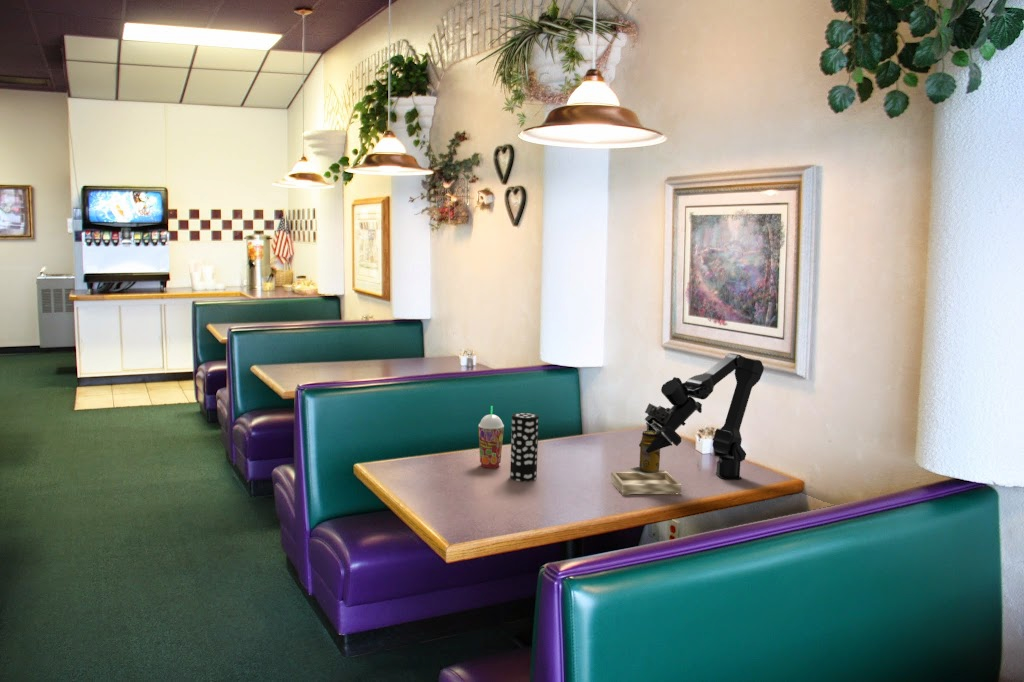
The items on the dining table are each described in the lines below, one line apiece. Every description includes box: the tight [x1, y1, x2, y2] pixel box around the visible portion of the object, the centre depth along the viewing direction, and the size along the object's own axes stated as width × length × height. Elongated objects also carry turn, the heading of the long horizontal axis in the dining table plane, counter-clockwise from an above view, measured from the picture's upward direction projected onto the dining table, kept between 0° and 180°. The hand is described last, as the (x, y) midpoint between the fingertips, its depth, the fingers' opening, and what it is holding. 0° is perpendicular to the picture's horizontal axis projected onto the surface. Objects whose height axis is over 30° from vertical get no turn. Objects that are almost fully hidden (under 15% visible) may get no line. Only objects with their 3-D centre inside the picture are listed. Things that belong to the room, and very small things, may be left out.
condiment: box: [628, 430, 665, 475], centre depth 264 cm, size 7×8×12 cm
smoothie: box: [477, 405, 505, 469], centre depth 284 cm, size 8×8×20 cm
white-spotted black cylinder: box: [509, 412, 540, 482], centre depth 271 cm, size 8×8×20 cm
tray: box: [610, 471, 682, 496], centre depth 266 cm, size 18×14×3 cm
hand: (643, 449), depth 264 cm, fingers closed on condiment, 6 cm apart
